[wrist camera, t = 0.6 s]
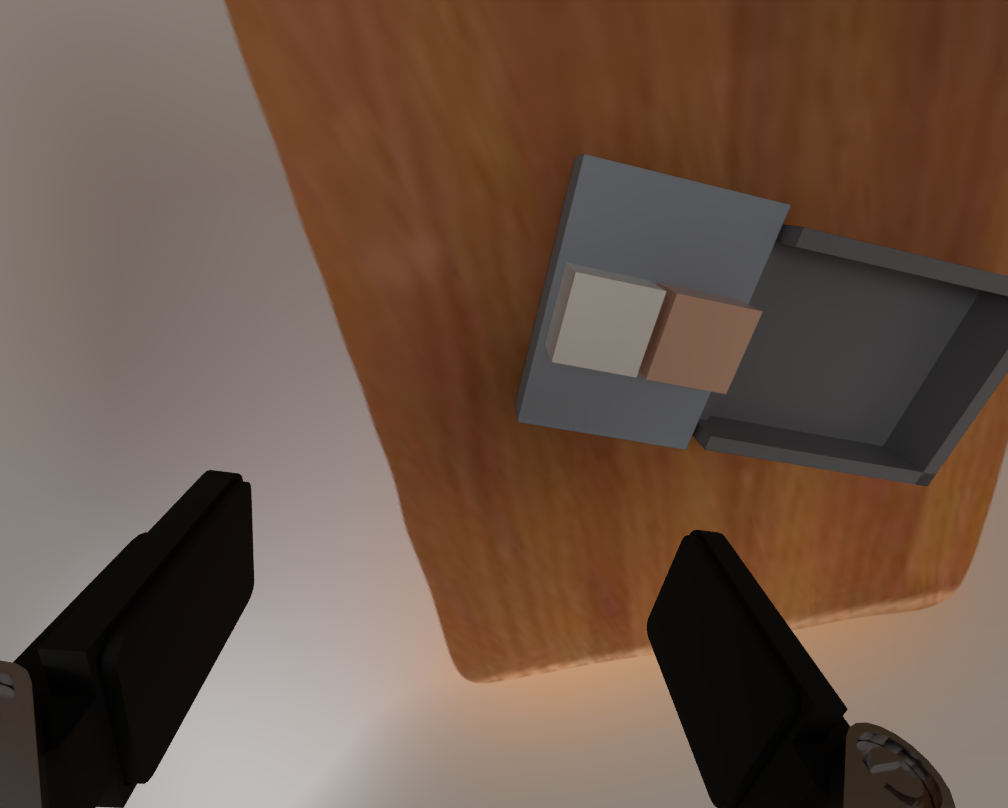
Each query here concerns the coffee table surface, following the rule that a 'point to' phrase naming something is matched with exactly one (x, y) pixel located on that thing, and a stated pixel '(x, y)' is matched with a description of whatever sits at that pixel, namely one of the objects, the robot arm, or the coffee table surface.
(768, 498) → the coffee table surface
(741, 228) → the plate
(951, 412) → the box
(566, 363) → the tile
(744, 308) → the tile
